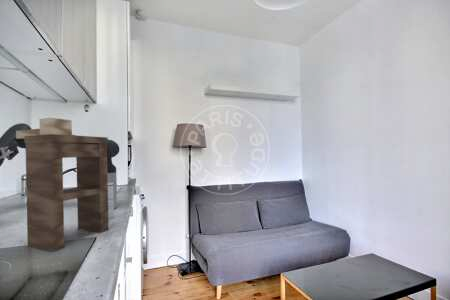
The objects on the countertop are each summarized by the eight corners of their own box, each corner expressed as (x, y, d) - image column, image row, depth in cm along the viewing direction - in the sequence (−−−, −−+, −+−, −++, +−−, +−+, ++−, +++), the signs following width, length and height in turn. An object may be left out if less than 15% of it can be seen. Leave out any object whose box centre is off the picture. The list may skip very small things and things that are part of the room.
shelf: (84, 226, 82) (83, 138, 82) (109, 229, 77) (107, 137, 77) (26, 246, 65) (24, 136, 65) (54, 252, 60) (51, 134, 61)
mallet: (31, 139, 76) (31, 124, 76) (71, 136, 69) (71, 120, 69) (9, 138, 71) (9, 122, 71) (51, 135, 64) (50, 117, 64)
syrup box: (91, 220, 89) (90, 183, 89) (104, 216, 94) (103, 181, 94) (102, 221, 87) (101, 184, 87) (114, 217, 92) (113, 182, 92)
